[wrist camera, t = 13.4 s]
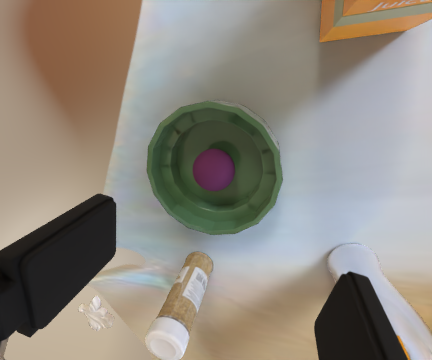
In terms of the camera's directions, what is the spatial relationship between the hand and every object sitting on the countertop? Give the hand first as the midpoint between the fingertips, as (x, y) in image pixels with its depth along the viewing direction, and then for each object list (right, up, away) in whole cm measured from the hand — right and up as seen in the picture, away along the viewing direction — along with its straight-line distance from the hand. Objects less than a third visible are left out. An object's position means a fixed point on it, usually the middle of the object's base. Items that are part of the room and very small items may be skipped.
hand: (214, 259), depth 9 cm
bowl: (0, +5, +20) cm, 21 cm away
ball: (0, +5, +20) cm, 21 cm away
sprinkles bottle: (-2, -10, +27) cm, 29 cm away
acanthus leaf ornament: (-24, -24, +38) cm, 51 cm away
